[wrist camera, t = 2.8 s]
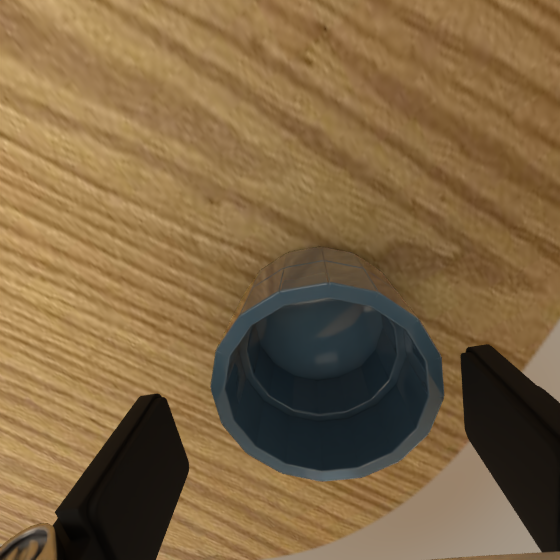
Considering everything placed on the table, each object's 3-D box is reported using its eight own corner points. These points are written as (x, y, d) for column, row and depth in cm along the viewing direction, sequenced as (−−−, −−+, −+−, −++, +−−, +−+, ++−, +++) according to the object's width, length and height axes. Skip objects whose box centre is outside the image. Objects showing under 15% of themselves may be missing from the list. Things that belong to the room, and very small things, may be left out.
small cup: (387, 231, 14) (435, 263, 9) (404, 376, 16) (450, 470, 11) (225, 261, 15) (184, 307, 10) (260, 395, 17) (241, 490, 12)
